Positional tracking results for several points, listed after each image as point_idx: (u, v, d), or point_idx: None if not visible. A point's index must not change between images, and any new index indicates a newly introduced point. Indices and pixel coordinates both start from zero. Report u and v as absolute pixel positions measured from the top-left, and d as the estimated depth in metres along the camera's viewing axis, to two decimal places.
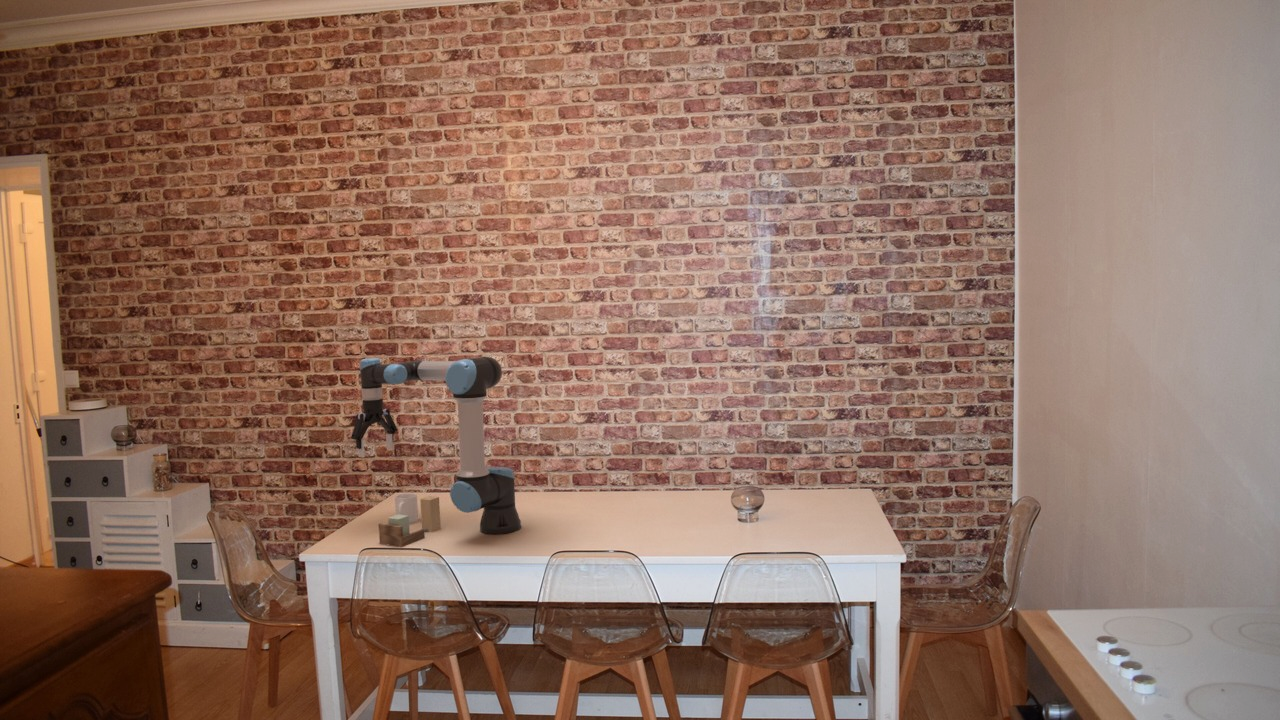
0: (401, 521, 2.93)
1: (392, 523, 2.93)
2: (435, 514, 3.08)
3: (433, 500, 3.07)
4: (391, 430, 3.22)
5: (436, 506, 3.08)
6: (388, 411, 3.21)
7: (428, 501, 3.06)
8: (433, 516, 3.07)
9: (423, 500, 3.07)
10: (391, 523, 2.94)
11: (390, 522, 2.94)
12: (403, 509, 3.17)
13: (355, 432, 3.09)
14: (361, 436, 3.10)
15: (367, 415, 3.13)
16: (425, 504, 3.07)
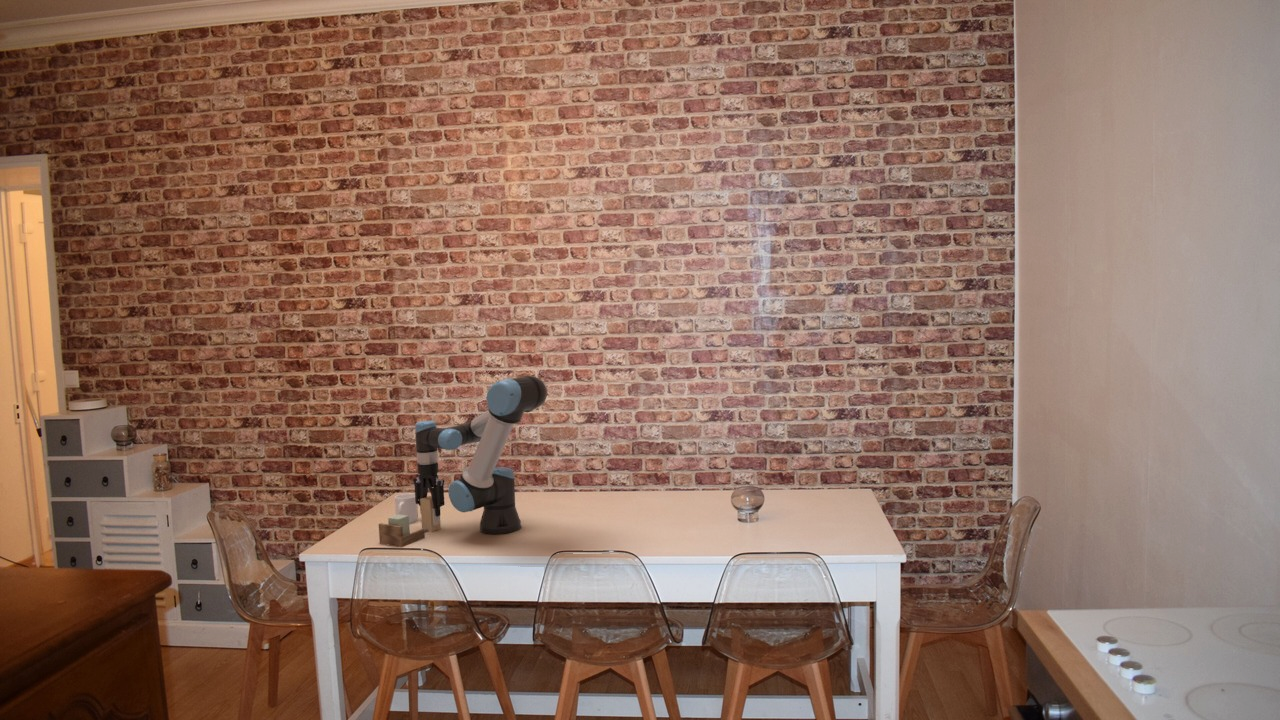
0: (401, 521, 2.93)
1: (392, 522, 2.93)
2: None
3: None
4: (434, 504, 3.06)
5: None
6: (438, 483, 3.04)
7: (428, 501, 3.06)
8: None
9: (423, 500, 3.07)
10: (391, 523, 2.94)
11: (390, 522, 2.94)
12: (403, 509, 3.17)
13: None
14: None
15: (419, 478, 3.09)
16: (425, 504, 3.07)
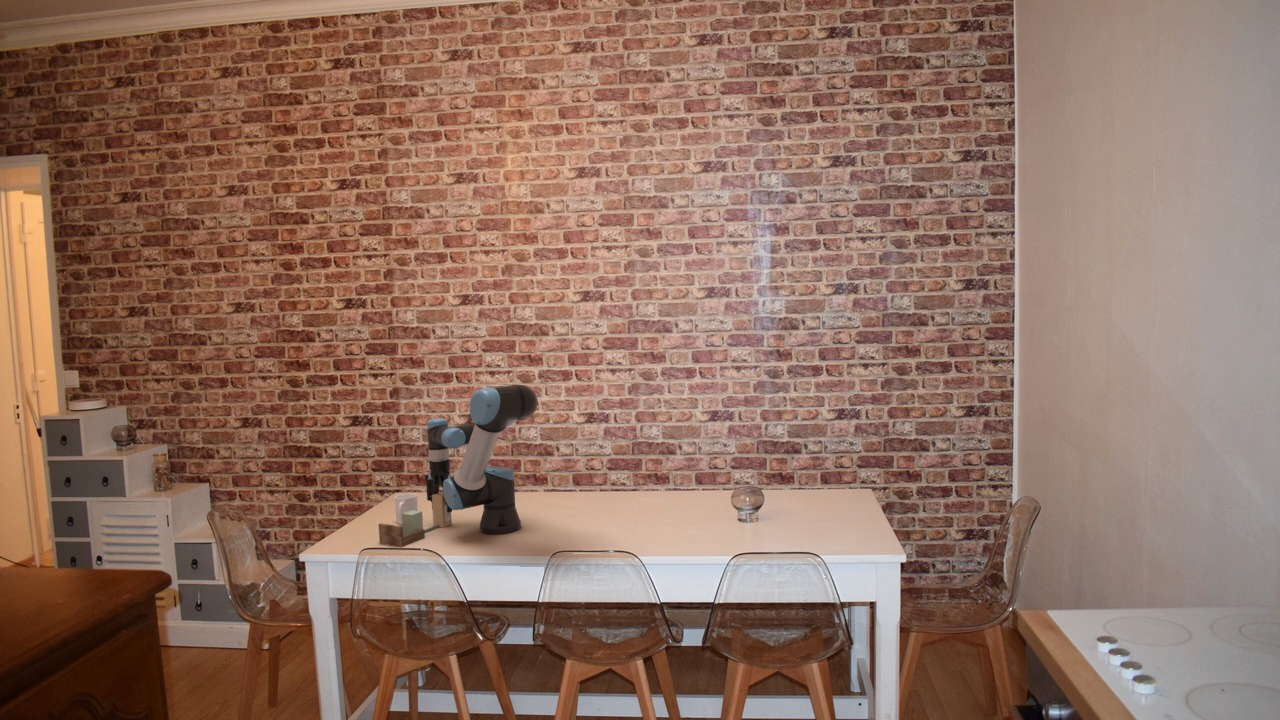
0: (415, 517, 2.98)
1: (406, 518, 2.98)
2: None
3: None
4: None
5: None
6: None
7: (440, 497, 3.11)
8: (444, 512, 3.12)
9: (435, 496, 3.12)
10: (405, 519, 2.98)
11: (404, 518, 2.99)
12: (403, 509, 3.17)
13: None
14: None
15: (431, 475, 3.14)
16: (437, 500, 3.12)
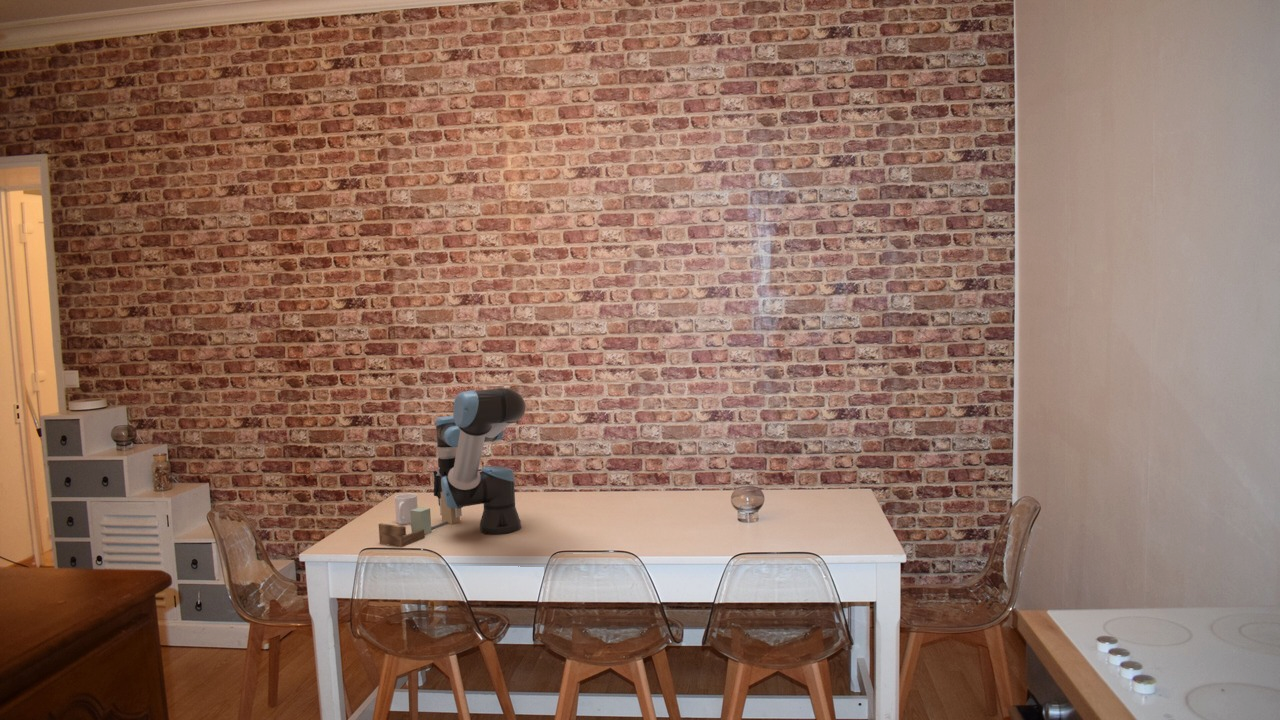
0: (423, 513, 3.02)
1: (414, 515, 3.03)
2: None
3: None
4: None
5: None
6: None
7: None
8: (452, 509, 3.16)
9: None
10: (413, 515, 3.03)
11: (412, 514, 3.03)
12: (403, 509, 3.17)
13: None
14: (438, 494, 3.20)
15: (439, 472, 3.19)
16: None
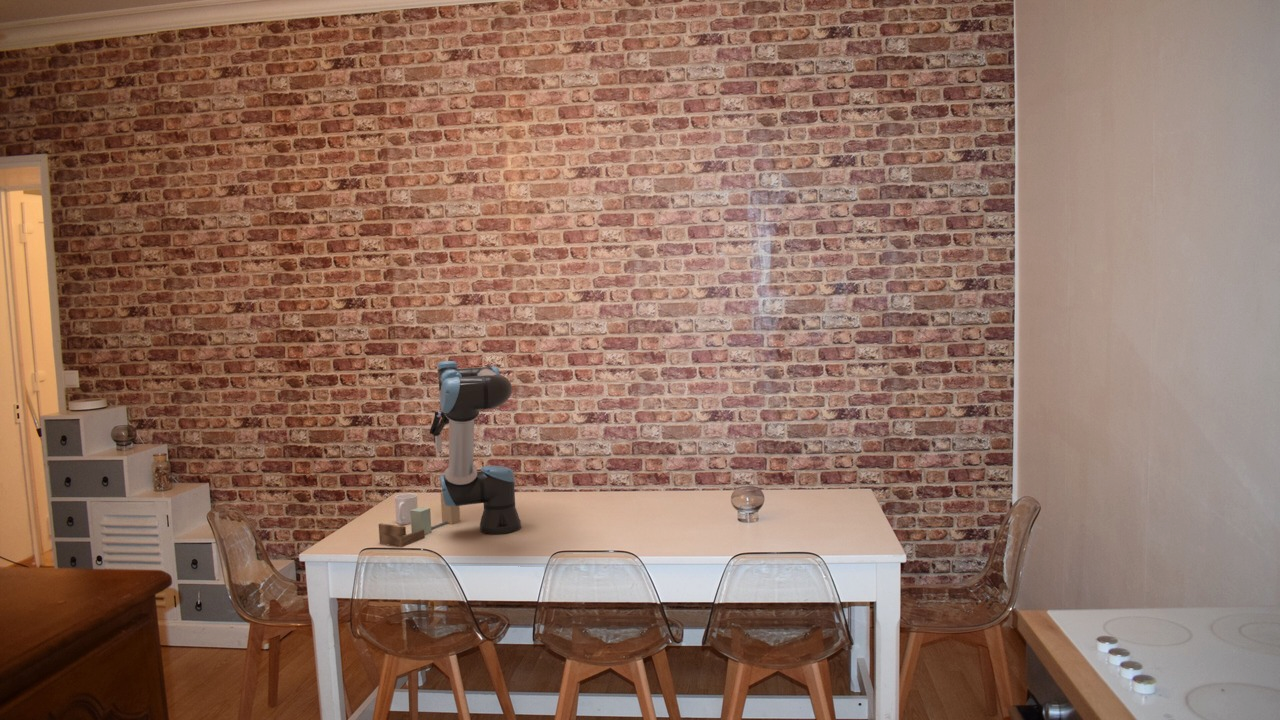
0: (423, 513, 3.02)
1: (414, 515, 3.03)
2: (454, 507, 3.17)
3: None
4: None
5: None
6: None
7: None
8: (452, 509, 3.16)
9: None
10: (413, 515, 3.03)
11: (412, 514, 3.03)
12: (403, 509, 3.17)
13: None
14: (435, 432, 3.31)
15: (441, 414, 3.28)
16: None
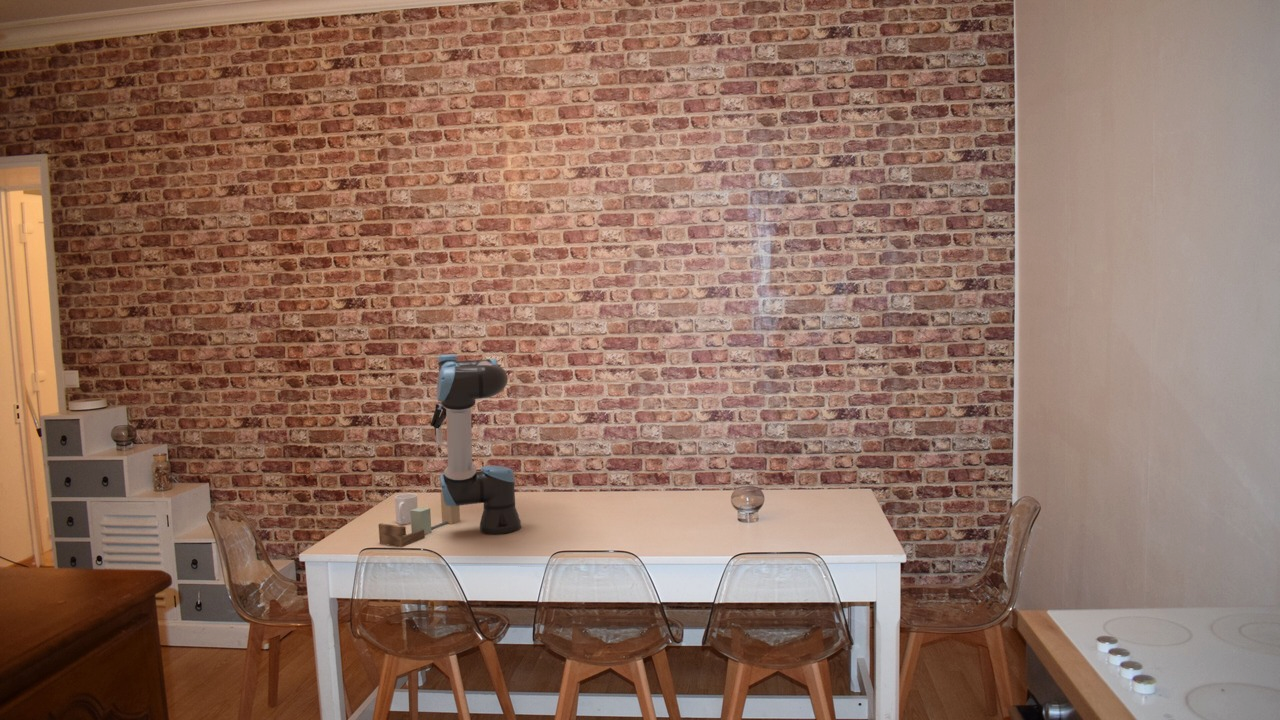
0: (423, 513, 3.02)
1: (414, 515, 3.03)
2: (454, 507, 3.17)
3: None
4: None
5: None
6: None
7: None
8: (452, 509, 3.16)
9: None
10: (413, 515, 3.03)
11: (412, 514, 3.03)
12: (403, 509, 3.17)
13: None
14: (435, 424, 3.37)
15: (441, 407, 3.35)
16: None
